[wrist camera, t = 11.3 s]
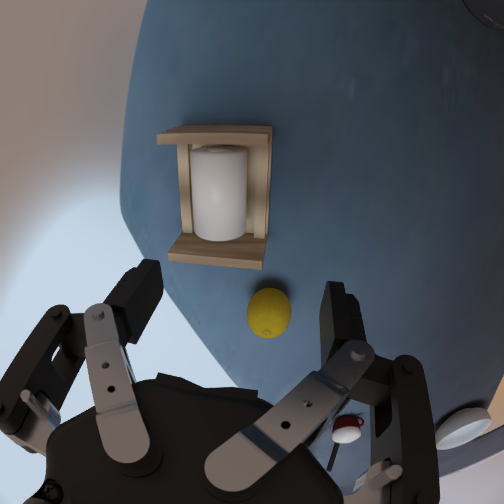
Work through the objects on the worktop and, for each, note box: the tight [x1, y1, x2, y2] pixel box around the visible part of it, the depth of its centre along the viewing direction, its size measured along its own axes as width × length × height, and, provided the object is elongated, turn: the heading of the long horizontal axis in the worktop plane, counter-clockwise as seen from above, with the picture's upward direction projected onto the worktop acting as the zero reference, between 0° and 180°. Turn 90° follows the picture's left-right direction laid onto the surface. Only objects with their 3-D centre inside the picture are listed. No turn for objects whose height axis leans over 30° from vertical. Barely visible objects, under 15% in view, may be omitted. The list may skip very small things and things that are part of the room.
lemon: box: [247, 288, 291, 338], centre depth 37 cm, size 6×6×8 cm
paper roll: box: [190, 145, 247, 241], centre depth 30 cm, size 9×6×6 cm
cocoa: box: [326, 415, 364, 472], centre depth 51 cm, size 10×6×12 cm, turn 114°
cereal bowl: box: [435, 408, 491, 450], centre depth 52 cm, size 17×17×7 cm
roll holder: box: [157, 125, 273, 270], centre depth 30 cm, size 13×10×7 cm
